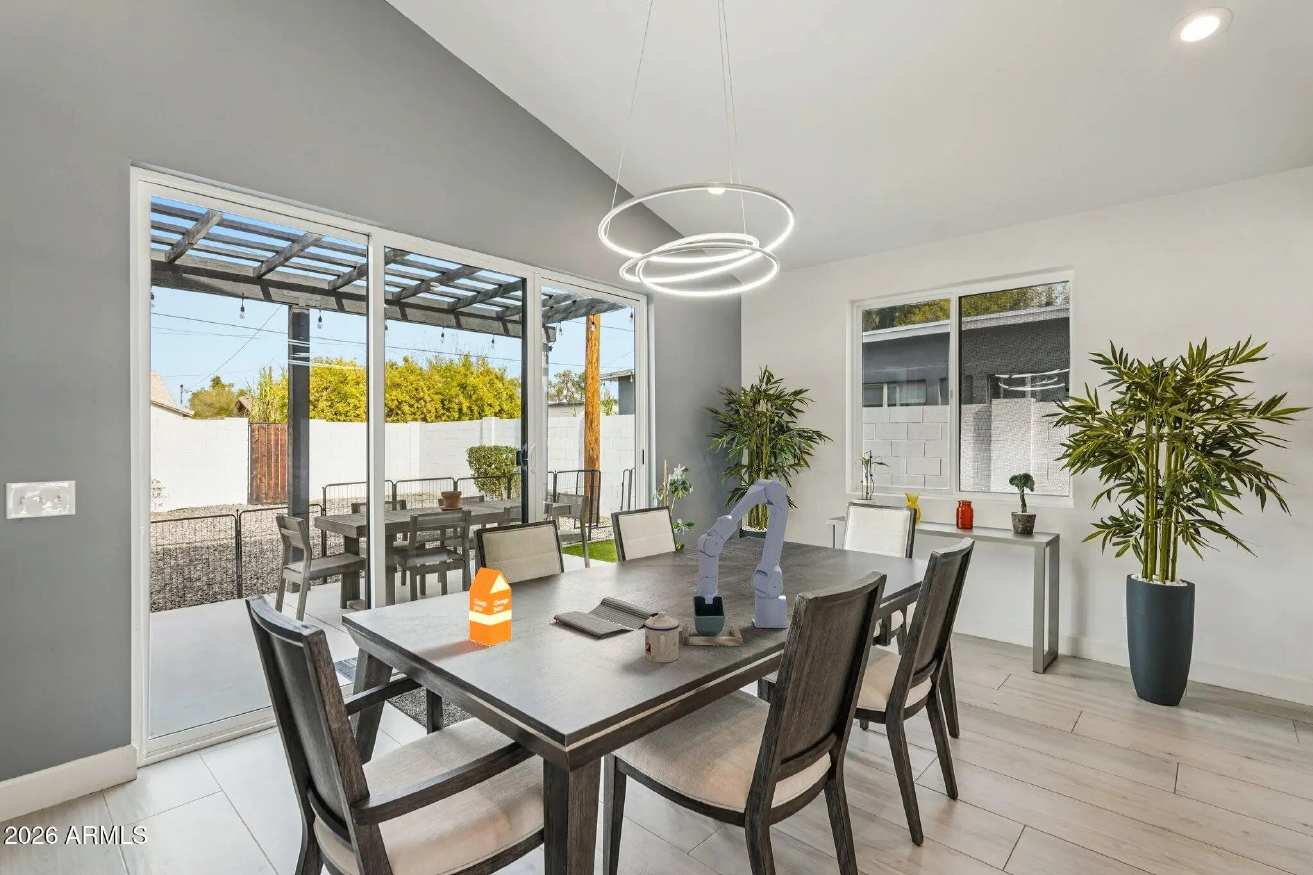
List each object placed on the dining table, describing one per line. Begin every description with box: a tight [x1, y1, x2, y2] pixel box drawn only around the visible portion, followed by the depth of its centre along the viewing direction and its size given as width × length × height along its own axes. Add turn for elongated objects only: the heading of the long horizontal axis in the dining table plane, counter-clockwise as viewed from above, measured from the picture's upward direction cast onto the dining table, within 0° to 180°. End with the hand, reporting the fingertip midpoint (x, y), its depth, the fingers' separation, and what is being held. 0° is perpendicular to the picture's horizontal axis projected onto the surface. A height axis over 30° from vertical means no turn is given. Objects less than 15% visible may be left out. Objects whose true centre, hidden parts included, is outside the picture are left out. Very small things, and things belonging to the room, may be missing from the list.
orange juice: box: [468, 567, 512, 645], centre depth 173 cm, size 8×9×20 cm
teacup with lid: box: [643, 611, 680, 664], centre depth 159 cm, size 12×9×12 cm
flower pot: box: [692, 594, 726, 636], centre depth 178 cm, size 9×9×9 cm
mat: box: [553, 596, 658, 640], centre depth 190 cm, size 23×24×5 cm
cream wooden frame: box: [681, 623, 743, 647], centre depth 176 cm, size 16×14×2 cm
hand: (706, 621), depth 182 cm, fingers closed, pressing on flower pot
